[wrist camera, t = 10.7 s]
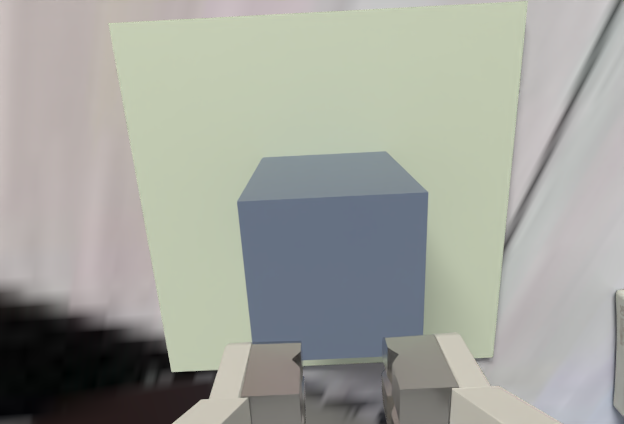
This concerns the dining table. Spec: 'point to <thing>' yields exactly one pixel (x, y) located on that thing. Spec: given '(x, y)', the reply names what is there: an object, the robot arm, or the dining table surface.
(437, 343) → the robot arm
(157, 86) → the post board
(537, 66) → the dining table surface
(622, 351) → the supplement box
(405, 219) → the blue-grey block
